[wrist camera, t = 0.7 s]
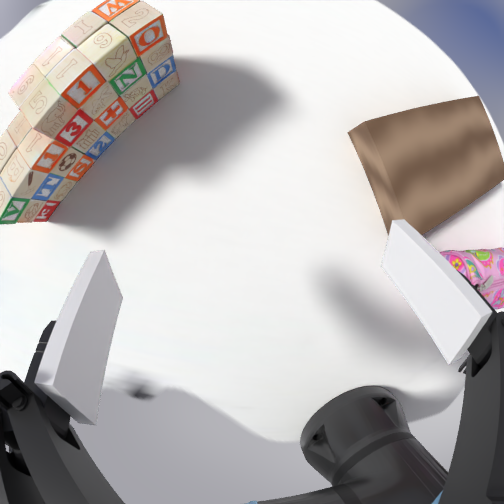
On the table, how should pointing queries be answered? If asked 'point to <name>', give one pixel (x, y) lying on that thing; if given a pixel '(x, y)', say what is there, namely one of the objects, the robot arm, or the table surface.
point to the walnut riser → (429, 160)
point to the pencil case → (482, 271)
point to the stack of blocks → (81, 103)
